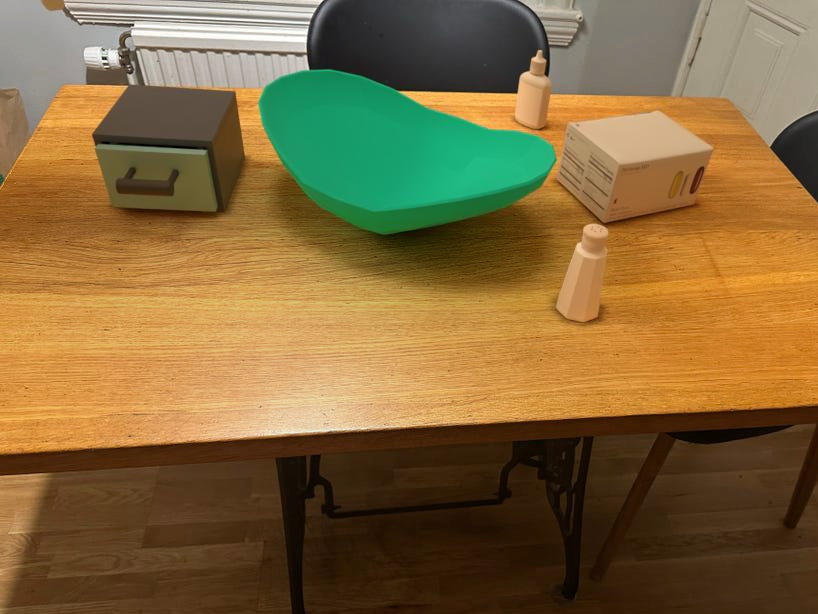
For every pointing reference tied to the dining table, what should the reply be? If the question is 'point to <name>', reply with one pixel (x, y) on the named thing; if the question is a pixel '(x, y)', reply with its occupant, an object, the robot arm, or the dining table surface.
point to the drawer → (157, 176)
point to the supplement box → (632, 164)
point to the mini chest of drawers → (181, 127)
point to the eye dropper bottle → (533, 95)
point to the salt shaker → (585, 276)
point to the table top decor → (394, 153)
